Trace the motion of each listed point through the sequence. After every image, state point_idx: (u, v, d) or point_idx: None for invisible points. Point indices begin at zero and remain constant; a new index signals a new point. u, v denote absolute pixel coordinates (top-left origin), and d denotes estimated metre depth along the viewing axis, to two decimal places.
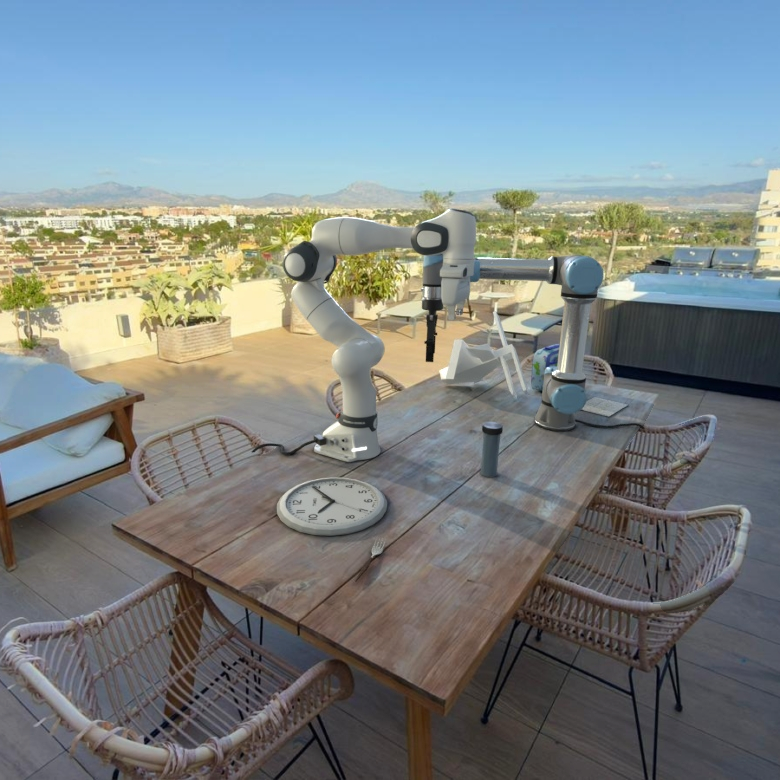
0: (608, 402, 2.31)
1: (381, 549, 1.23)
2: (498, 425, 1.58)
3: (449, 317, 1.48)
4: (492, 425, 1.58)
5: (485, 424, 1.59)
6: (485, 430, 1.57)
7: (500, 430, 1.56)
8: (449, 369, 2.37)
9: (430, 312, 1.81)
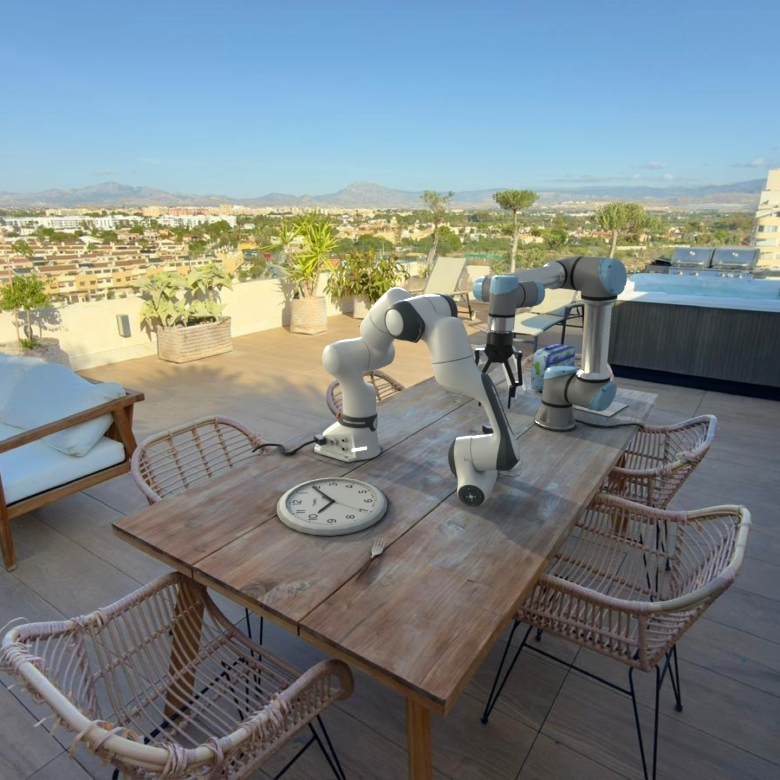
0: None
1: (381, 549, 1.23)
2: None
3: None
4: None
5: (485, 424, 1.59)
6: (485, 430, 1.57)
7: None
8: None
9: None
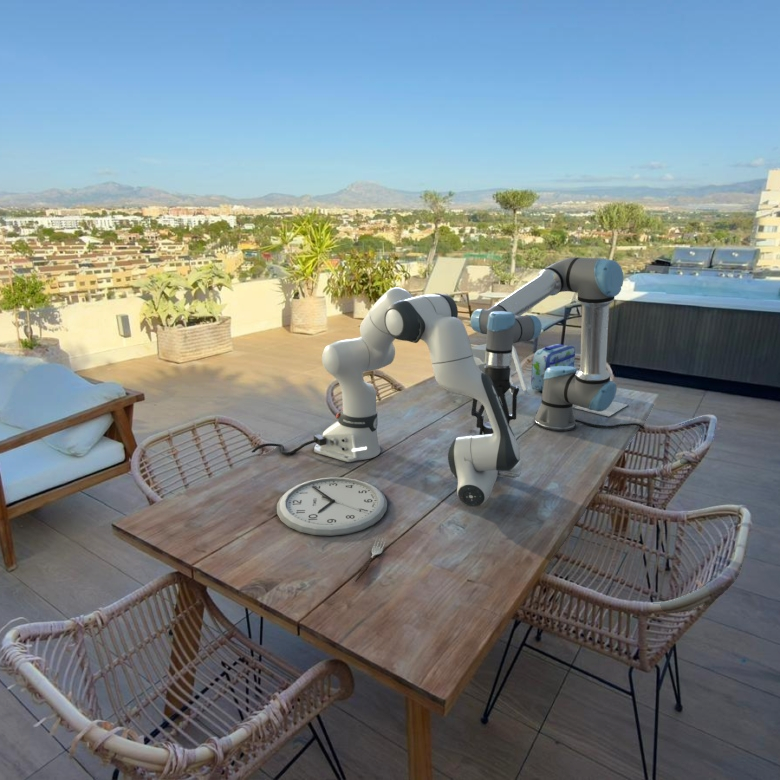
0: None
1: (381, 549, 1.23)
2: None
3: None
4: None
5: (485, 424, 1.59)
6: (485, 430, 1.57)
7: None
8: None
9: None
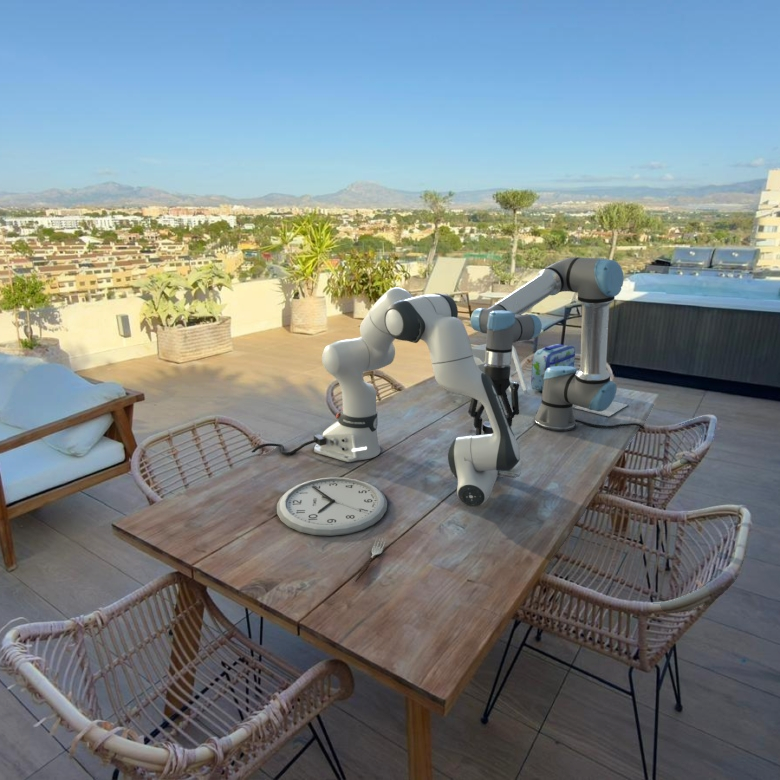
0: None
1: (381, 549, 1.23)
2: None
3: None
4: None
5: None
6: None
7: None
8: None
9: None
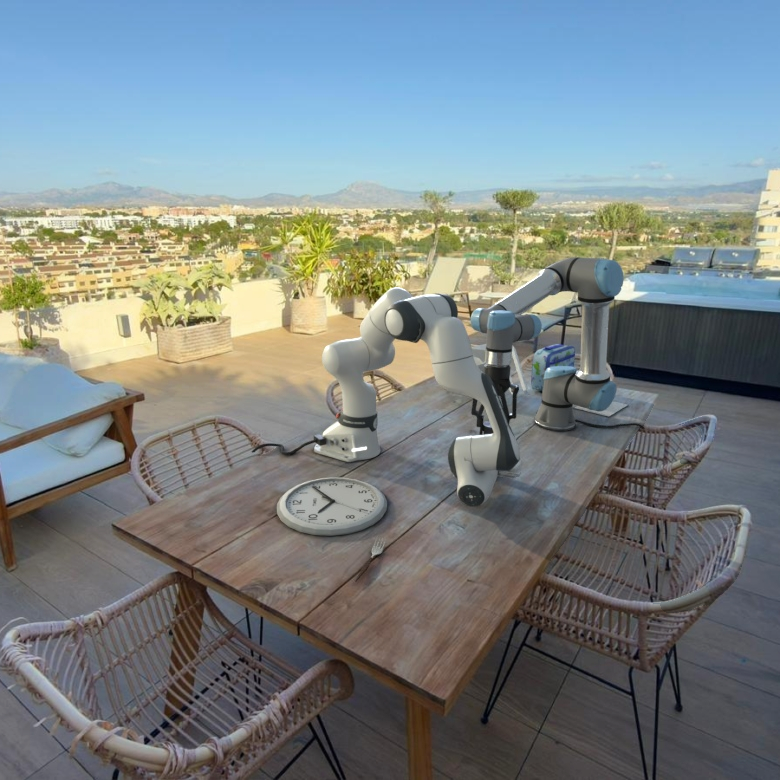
0: None
1: (381, 549, 1.23)
2: None
3: None
4: None
5: None
6: None
7: None
8: None
9: None
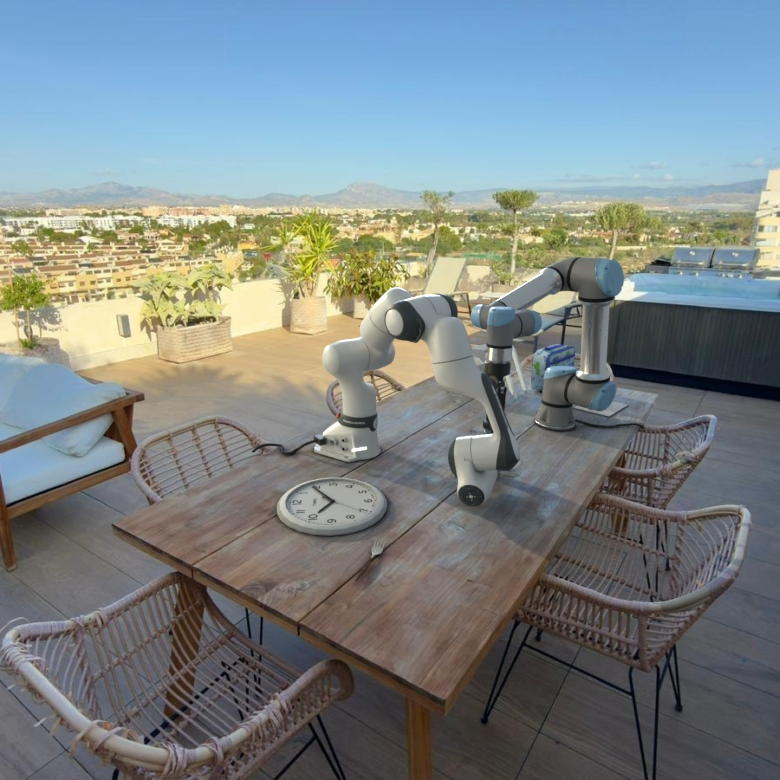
0: None
1: (381, 549, 1.23)
2: (488, 421, 1.57)
3: None
4: None
5: None
6: None
7: (483, 422, 1.59)
8: None
9: (498, 378, 1.50)
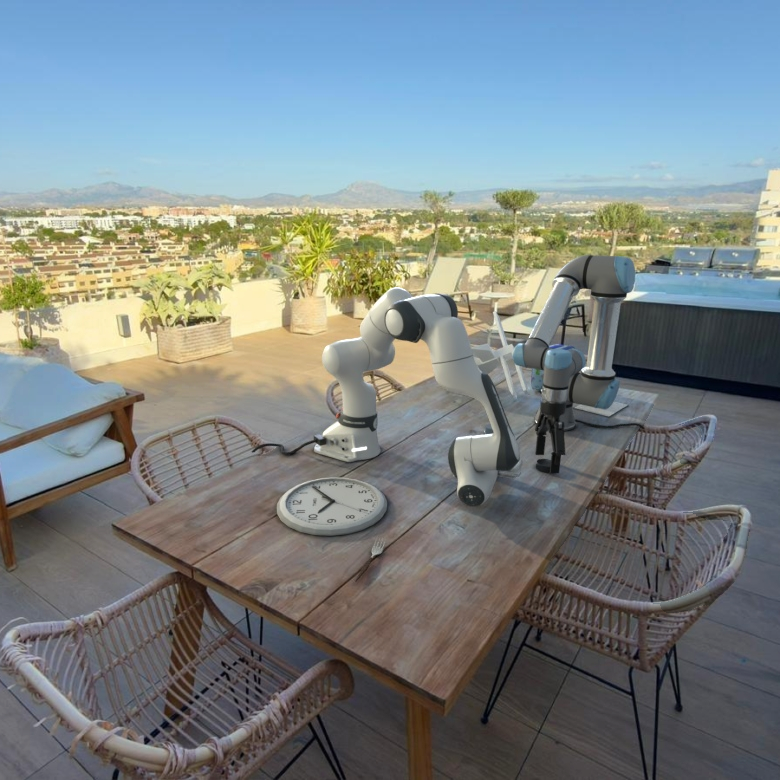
0: None
1: (381, 549, 1.23)
2: (541, 463, 1.66)
3: None
4: (545, 462, 1.67)
5: None
6: None
7: (536, 463, 1.67)
8: None
9: (555, 417, 1.58)
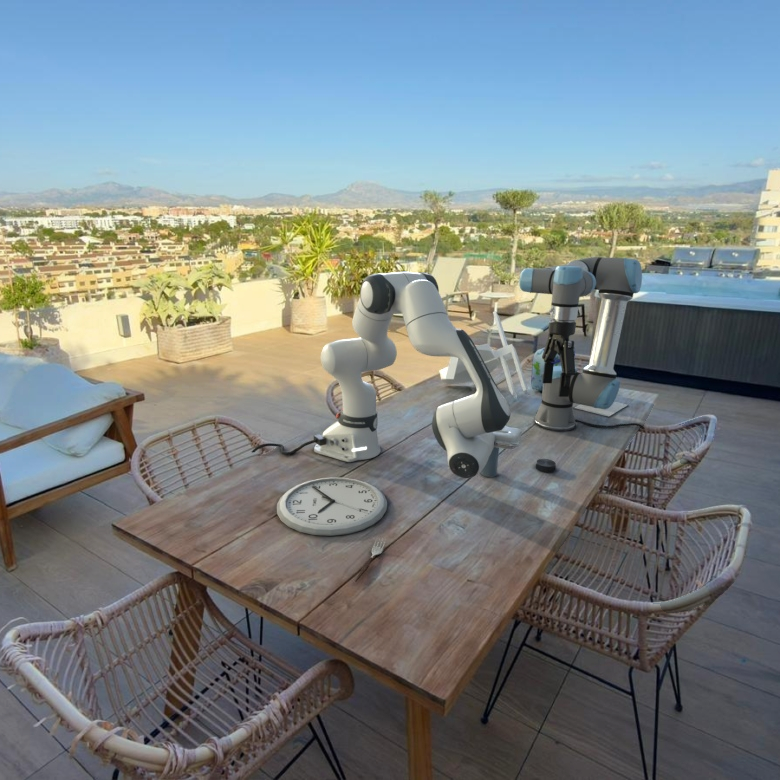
0: None
1: (381, 549, 1.23)
2: (541, 463, 1.66)
3: None
4: (545, 462, 1.67)
5: (551, 461, 1.67)
6: None
7: (536, 463, 1.67)
8: (449, 369, 2.37)
9: (564, 337, 1.51)
